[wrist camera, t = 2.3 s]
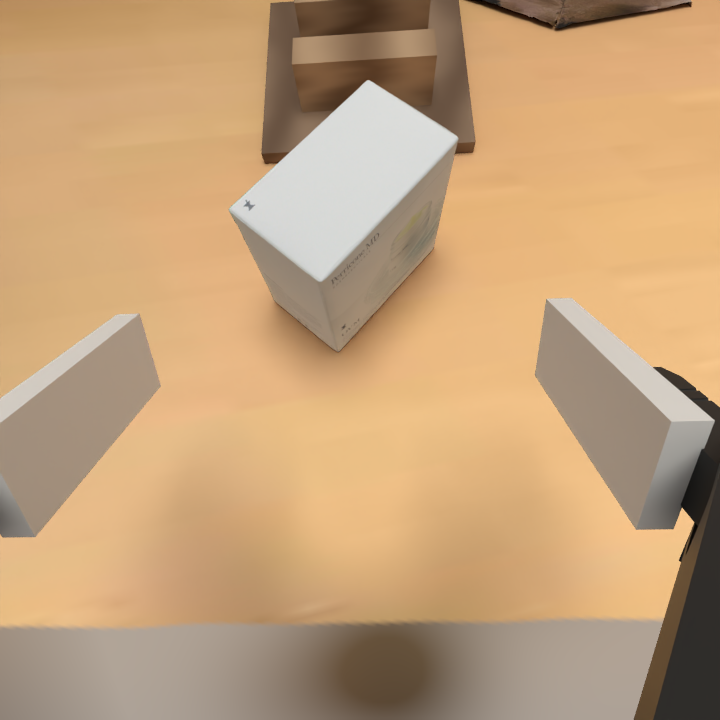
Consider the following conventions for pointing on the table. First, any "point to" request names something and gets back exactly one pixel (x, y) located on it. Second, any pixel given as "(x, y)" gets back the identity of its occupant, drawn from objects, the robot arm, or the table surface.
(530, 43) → the table surface
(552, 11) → the wooden fragment
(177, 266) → the table surface
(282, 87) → the ridge board
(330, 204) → the skincare box
